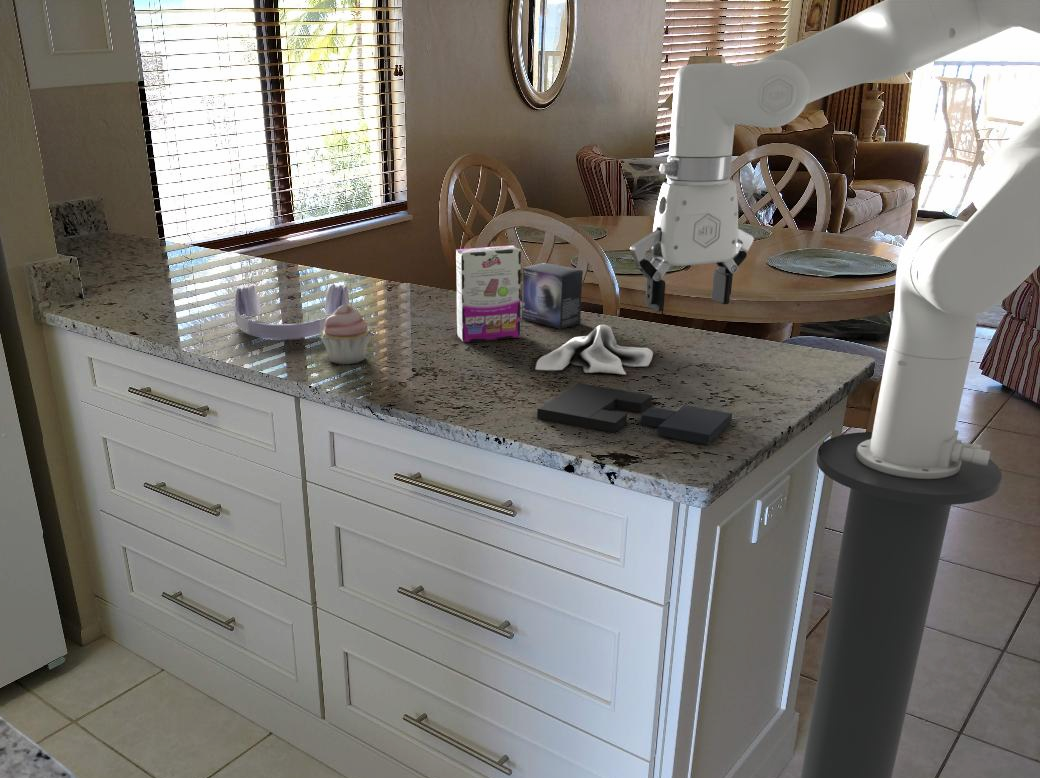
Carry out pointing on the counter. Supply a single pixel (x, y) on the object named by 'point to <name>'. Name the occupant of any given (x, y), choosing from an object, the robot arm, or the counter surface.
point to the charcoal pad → (687, 423)
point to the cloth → (595, 354)
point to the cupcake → (346, 336)
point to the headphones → (250, 306)
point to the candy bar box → (488, 293)
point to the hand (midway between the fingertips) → (687, 305)
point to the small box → (551, 295)
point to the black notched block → (593, 407)
